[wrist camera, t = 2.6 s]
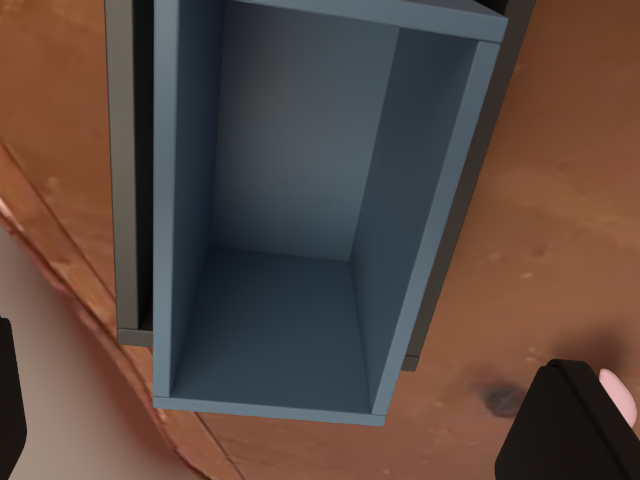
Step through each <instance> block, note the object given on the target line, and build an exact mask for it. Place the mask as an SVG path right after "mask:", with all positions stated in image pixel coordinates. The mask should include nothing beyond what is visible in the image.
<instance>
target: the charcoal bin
mask: <svg viewBox="0 0 640 480" xmlns="http://www.w3.org/2000/svg"><path fill="white" fill-rule="evenodd" d="M474 1H475V2H477V3H479V4H481V5H483V6H485V7H487V8H489V9H491V10H493V11H495V12H497V13H499V14H501V15H502V16H504V17H506V18H508V24H507V27H506V31H505V34H504V37H503V40H502V42H501V43H499V44H500V50H499V53H498V56H497V60H496V63H495V66H494V69H493V72H492V76H491V79H490V82H489V85H488V89H487V92H486V95H485V98H484V102H483V105H482V108H481V111H480V115H479V118H478V121H477V124H476V127H475V131H474V134H473V137H472V140H471V144H470V147H469V150H468V153H467V157H466V160H465V163H464V166H463V170H462V173H461V176H460V179H459V182H458V186H457V189H456V192H455V195H454V199H453V202H452V205H451V208H450V212H449V215H448V218H447V221H446V225H445V228H444V231H443V234H442V237H441V241H440V244H439V247H438V250H437V254H436V257H435V260H434V263H433V267H432V270H431V273H430V276H429V279H428V283H427V286H426V289H425V292H424V296H423V299H422V302H421V305H420V309H419V312H418V315H417V318H416V322H415V325H414V328H413V331H412V334H411V338H410V341H409V344H408V347H407V351H406V354H405V357H404V360H403V364H402V367H401V370H403V371H415V370H416V367H417V364H418V361H419V358H420V357H419V356H420V353H421V350H422V347H423V344H424V341H425V338H426V335H427V332H428V329H429V326H430V323H431V320H432V317H433V314H434V311H435V308H436V304H437V301H438V298H439V295H440V292H441V289H442V286H443V283H444V280H445V277H446V274H447V271H448V268H449V265H450V262H451V259H452V256H453V253H454V249H455V246H456V243H457V240H458V237H459V234H460V231H461V228H462V225H463V222H464V219H465V216H466V213H467V210H468V207H469V204H470V201H471V198H472V194H473V191H474V188H475V185H476V182H477V179H478V176H479V173H480V170H481V167H482V164H483V161H484V158H485V155H486V152H487V149H488V146H489V143H490V139H491V136H492V133H493V130H494V127H495V124H496V121H497V118H498V115H499V112H500V109H501V106H502V103H503V100H504V97H505V94H506V91H507V87H508V84H509V81H510V78H511V75H512V72H513V69H514V66H515V63H516V60H517V57H518V54H519V51H520V48H521V45H522V42H523V39H524V36H525V32H526V29H527V26H528V23H529V20H530V17H531V14H532V11H533V8H534V5H535V2H536V0H474ZM104 11H105V37H106V62H107V88H108V113H109V139H110V165H111V190H112V216H113V241H114V267H115V292H116V318H117V343H118V344H122V345H133V346H144V347H153V174H154V0H104Z"/></svg>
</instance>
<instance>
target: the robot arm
mask: <svg viewBox="0 0 640 480" xmlns="http://www.w3.org/2000/svg"><path fill="white" fill-rule="evenodd" d="M26 437H27V426H26V419H25V413H24V407H23V400H22V393H21V387H20V380H19V374H18V367H17V361H16V354H15V348H14V341H13V335H12V328H11V324H10V321H9V320H8V319H7V318H1V316H0V480H8V479H9V477H10V475H11V473H12V471H13V469H14V467H15V465H16V463H17V461H18V459H19V457H20V455H21V453H22V451H23V448H24V445H25V442H26ZM495 478H496V480H640V441H639V439H638V438H637V436H636V435H635V433H634V432H633V430H632V429H631V427H630V426H629V424H628V423H627V421H626V420H625V418H624V417H623V415H622V414H621V412H620V411H619V409H618V408H617V406H616V405H615V403H614V402H613V400H612V399H611V397H610V396H609V394H608V393H607V391H606V390H605V388H604V387H603V385H602V384H601V382H600V381H599V379H598V378H597V376H596V375H595V373H594V372H593V370H592V369H591V367H590V366H589V365H588V364H587V363H585V362H583V361H573V360H562V359H552V360H550V361H549V362H548V363H547V365H546V366H542V367H540V368H539V370H538V371H537V373H536V375H535V377H534V380H533V382H532V384H531V386H530V388H529V390H528V392H527V395H526V397H525V399H524V401H523V403H522V405H521V407H520V410H519V412H518V414H517V416H516V418H515V420H514V423H513V425H512V427H511V429H510V431H509V433H508V435H507V438H506V440H505V442H504V444H503V446H502V448H501V450H500V453H499V455H498V457H497V459H496V462H495Z"/></svg>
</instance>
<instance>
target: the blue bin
mask: <svg viewBox="0 0 640 480" xmlns="http://www.w3.org/2000/svg"><path fill="white" fill-rule="evenodd" d="M507 24H508V18H506V17H504V16H502V15H501V14H499V13H497V12H495V11H493V10H491V9H489V8H487V7H485V6H483V5H481V4H479V3H477V2H475V1H474V0H154V174H153V408H161V409H173V410H185V411H198V412H210V413H222V414H235V415H247V416H259V417H271V418H284V419H296V420H308V421H321V422H333V423H345V424H358V425H370V426H383V425H384V422H385V419H386V415H387V412H388V409H389V406H390V402H391V399H392V396H393V393H394V389H395V386H396V383H397V380H398V377H399V373H400V370H401V367H402V364H403V360H404V357H405V354H406V351H407V347H408V344H409V341H410V338H411V334H412V331H413V328H414V325H415V322H416V318H417V315H418V312H419V309H420V305H421V302H422V299H423V296H424V292H425V289H426V286H427V283H428V279H429V276H430V273H431V270H432V267H433V263H434V260H435V257H436V254H437V250H438V247H439V244H440V241H441V237H442V234H443V231H444V228H445V225H446V221H447V218H448V215H449V212H450V208H451V205H452V202H453V199H454V195H455V192H456V189H457V186H458V182H459V179H460V176H461V173H462V170H463V166H464V163H465V160H466V157H467V153H468V150H469V147H470V144H471V140H472V137H473V134H474V131H475V127H476V124H477V121H478V118H479V115H480V111H481V108H482V105H483V102H484V98H485V95H486V92H487V89H488V85H489V82H490V79H491V76H492V72H493V69H494V66H495V63H496V60H497V56H498V53H499V50H500V44H499V43H501V42H502V40H503V37H504V34H505V31H506V27H507Z"/></svg>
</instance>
